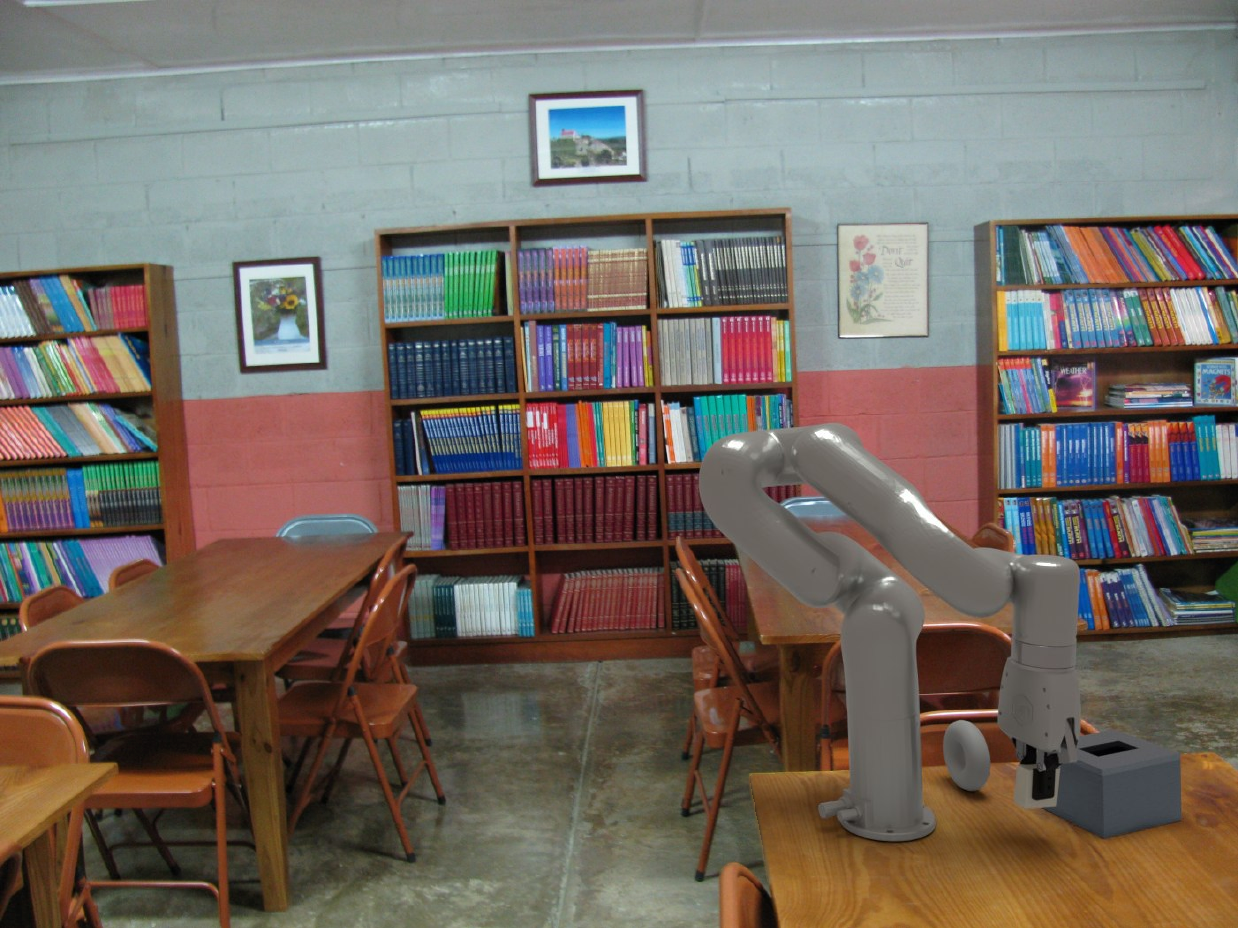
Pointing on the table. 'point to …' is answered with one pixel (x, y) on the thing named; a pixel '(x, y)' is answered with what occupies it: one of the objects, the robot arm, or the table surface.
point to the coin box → (1119, 785)
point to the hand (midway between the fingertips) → (1036, 793)
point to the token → (1025, 788)
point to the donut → (966, 755)
